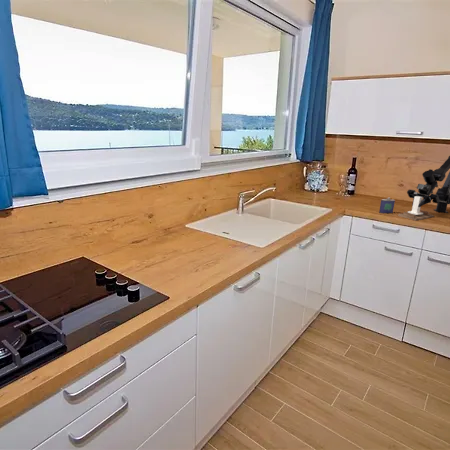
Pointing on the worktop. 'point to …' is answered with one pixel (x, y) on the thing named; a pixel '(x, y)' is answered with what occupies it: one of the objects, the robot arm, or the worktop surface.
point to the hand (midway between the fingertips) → (415, 206)
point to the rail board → (416, 217)
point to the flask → (386, 206)
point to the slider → (416, 206)
